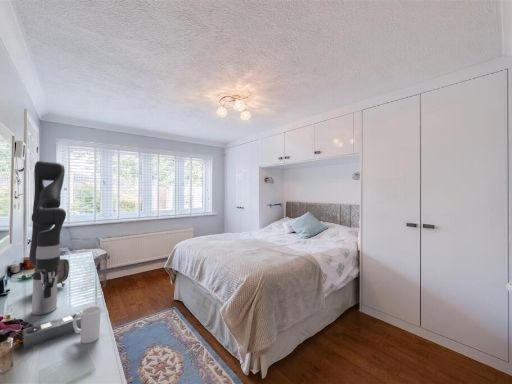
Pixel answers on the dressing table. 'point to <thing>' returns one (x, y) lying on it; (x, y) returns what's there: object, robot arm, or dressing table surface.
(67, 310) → the dressing table surface
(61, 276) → the tabletop clock
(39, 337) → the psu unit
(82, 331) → the mug
